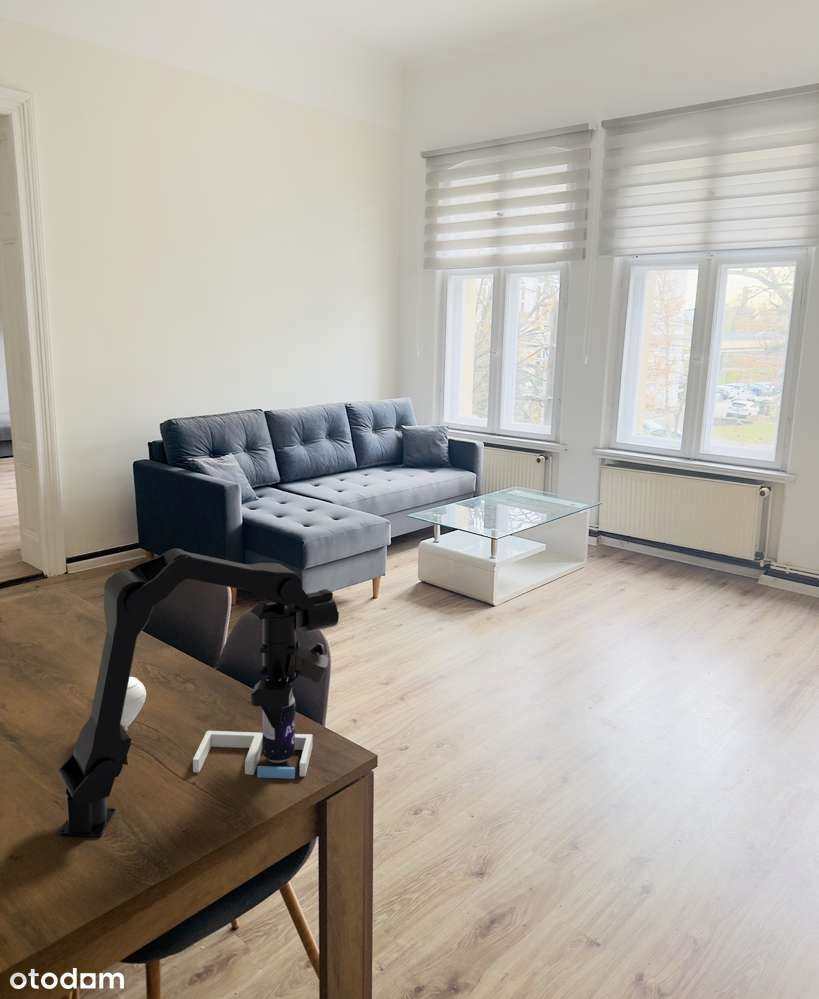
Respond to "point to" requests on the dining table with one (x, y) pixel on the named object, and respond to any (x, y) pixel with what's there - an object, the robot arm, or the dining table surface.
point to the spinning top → (133, 701)
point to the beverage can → (280, 736)
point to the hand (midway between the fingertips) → (278, 719)
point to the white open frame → (253, 752)
